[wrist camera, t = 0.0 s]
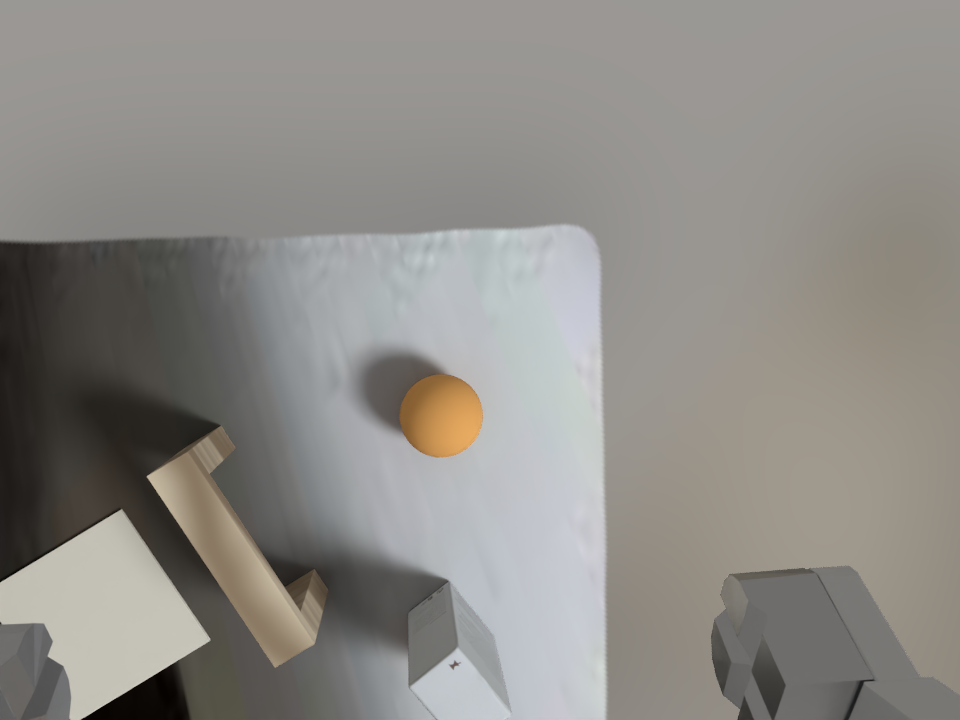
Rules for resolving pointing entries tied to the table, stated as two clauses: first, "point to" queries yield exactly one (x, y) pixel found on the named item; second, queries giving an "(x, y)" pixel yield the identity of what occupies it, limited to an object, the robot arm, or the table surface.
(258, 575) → the bridge
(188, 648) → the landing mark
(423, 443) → the ball
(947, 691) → the robot arm
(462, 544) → the table surface
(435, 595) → the skincare box
